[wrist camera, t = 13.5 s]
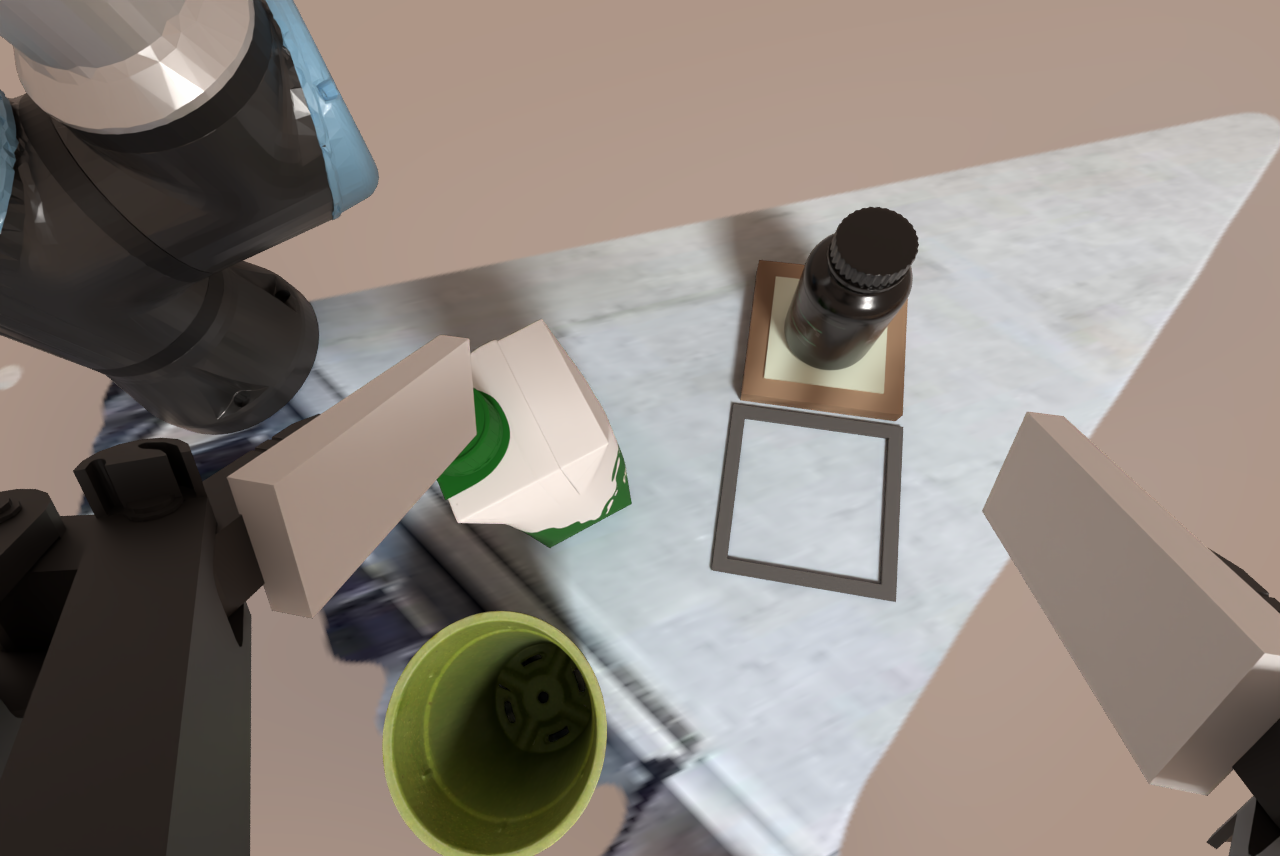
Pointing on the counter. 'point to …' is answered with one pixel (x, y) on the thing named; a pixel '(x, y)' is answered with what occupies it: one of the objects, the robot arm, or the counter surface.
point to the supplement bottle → (851, 289)
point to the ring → (800, 577)
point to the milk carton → (535, 443)
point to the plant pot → (493, 737)
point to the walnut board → (796, 384)
